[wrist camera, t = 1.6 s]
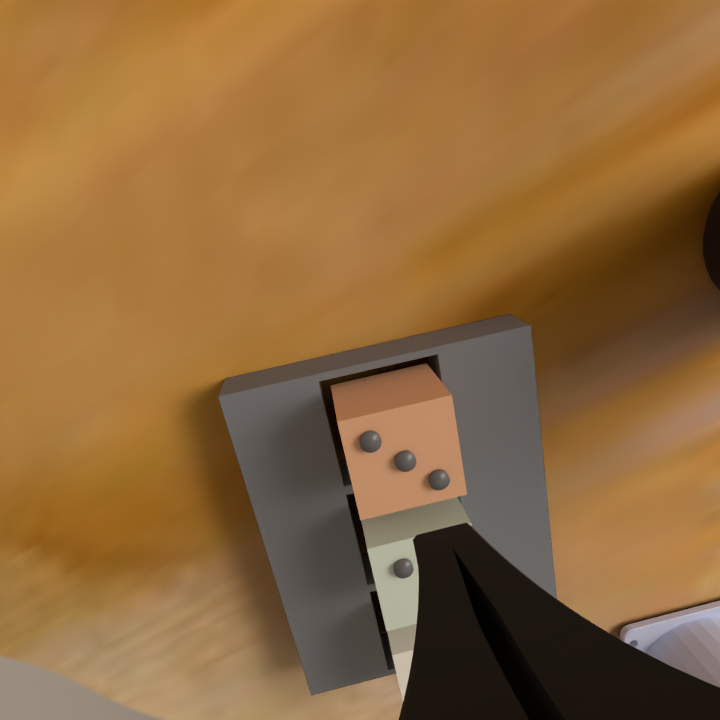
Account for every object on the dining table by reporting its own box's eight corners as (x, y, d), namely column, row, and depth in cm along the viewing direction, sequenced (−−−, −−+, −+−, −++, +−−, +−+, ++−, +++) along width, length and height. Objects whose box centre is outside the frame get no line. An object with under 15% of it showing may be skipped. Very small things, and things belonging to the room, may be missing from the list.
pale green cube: (457, 547, 22) (486, 610, 19) (373, 569, 22) (387, 635, 19) (445, 474, 21) (473, 526, 18) (356, 495, 21) (368, 552, 18)
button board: (540, 599, 26) (559, 630, 24) (310, 658, 25) (311, 695, 23) (509, 313, 21) (531, 325, 19) (225, 378, 21) (217, 396, 19)
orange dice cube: (440, 449, 21) (468, 497, 17) (350, 470, 21) (361, 524, 17) (426, 363, 20) (453, 397, 16) (330, 385, 19) (337, 424, 16)
